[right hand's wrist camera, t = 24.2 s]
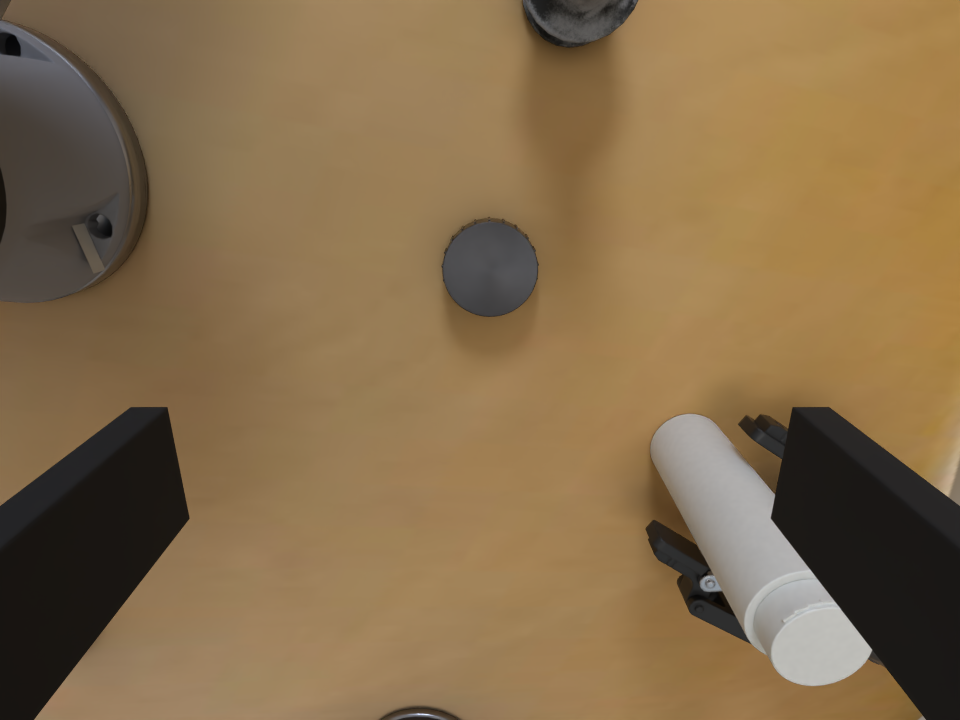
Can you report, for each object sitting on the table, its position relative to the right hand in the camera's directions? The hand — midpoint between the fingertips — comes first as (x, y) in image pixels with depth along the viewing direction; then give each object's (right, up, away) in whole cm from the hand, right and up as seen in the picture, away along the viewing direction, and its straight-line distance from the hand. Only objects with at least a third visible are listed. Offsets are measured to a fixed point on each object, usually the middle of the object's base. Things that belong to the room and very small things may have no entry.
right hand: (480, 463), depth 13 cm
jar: (+14, -4, +28) cm, 31 cm away
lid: (+1, +8, +22) cm, 23 cm away
